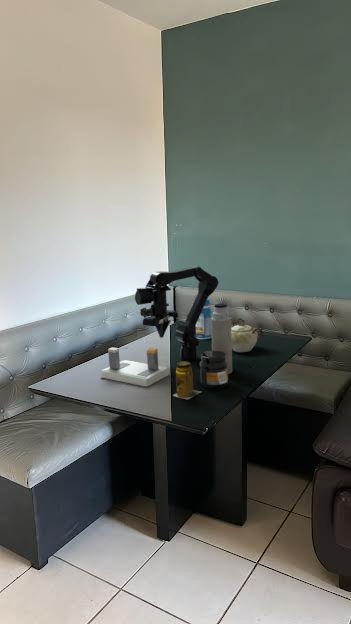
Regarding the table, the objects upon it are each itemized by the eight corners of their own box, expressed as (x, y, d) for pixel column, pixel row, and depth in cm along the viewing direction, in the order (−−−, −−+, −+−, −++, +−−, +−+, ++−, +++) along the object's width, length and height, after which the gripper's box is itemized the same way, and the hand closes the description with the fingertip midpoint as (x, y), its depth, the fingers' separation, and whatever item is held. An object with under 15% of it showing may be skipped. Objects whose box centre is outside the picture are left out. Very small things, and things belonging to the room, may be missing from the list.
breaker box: (125, 366, 214) (124, 359, 213) (168, 374, 201) (168, 367, 200) (101, 377, 202) (100, 369, 201) (146, 386, 189) (146, 378, 188)
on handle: (113, 366, 204) (112, 347, 202) (120, 367, 202) (118, 348, 200) (109, 368, 202) (108, 348, 200) (116, 369, 200) (114, 350, 198)
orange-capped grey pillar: (151, 367, 200) (150, 348, 199) (158, 368, 198) (157, 349, 197) (147, 368, 198) (146, 349, 197) (155, 370, 196) (153, 350, 195)
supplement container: (227, 389, 182) (226, 358, 179) (198, 389, 184) (197, 358, 181) (229, 379, 192) (228, 350, 190) (202, 379, 194) (201, 350, 191)
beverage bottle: (212, 339, 249) (211, 300, 245) (196, 340, 249) (194, 301, 245) (211, 335, 258) (210, 297, 253) (195, 335, 258) (194, 298, 253)
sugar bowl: (216, 352, 227) (215, 320, 224) (227, 343, 240) (226, 313, 237) (257, 356, 219) (257, 323, 216) (267, 347, 232) (266, 316, 229)
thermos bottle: (215, 367, 207) (213, 302, 201) (234, 368, 204) (232, 302, 198) (210, 374, 199) (208, 306, 193) (229, 375, 197) (228, 306, 191)
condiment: (171, 395, 179) (170, 364, 176) (186, 388, 185) (185, 358, 183) (187, 400, 174) (186, 367, 172) (202, 392, 181) (200, 361, 178)
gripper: (156, 296, 221) (158, 330, 224) (131, 304, 205) (133, 340, 209) (177, 298, 215) (179, 333, 218) (153, 306, 199) (155, 343, 203)
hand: (161, 337), depth 212 cm, fingers closed
